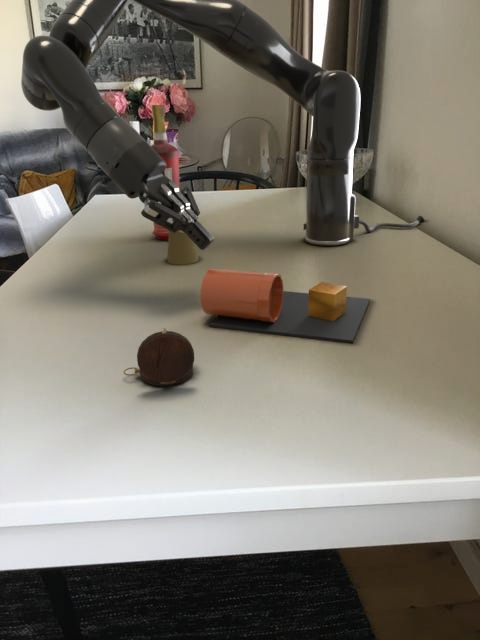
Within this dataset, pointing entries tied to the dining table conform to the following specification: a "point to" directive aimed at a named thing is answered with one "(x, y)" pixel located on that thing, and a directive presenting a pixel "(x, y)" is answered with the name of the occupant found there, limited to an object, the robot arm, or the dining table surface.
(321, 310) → the block
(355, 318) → the mat
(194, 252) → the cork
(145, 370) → the dark brown dome
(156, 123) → the liquor
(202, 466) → the dining table surface
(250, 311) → the tumbler
